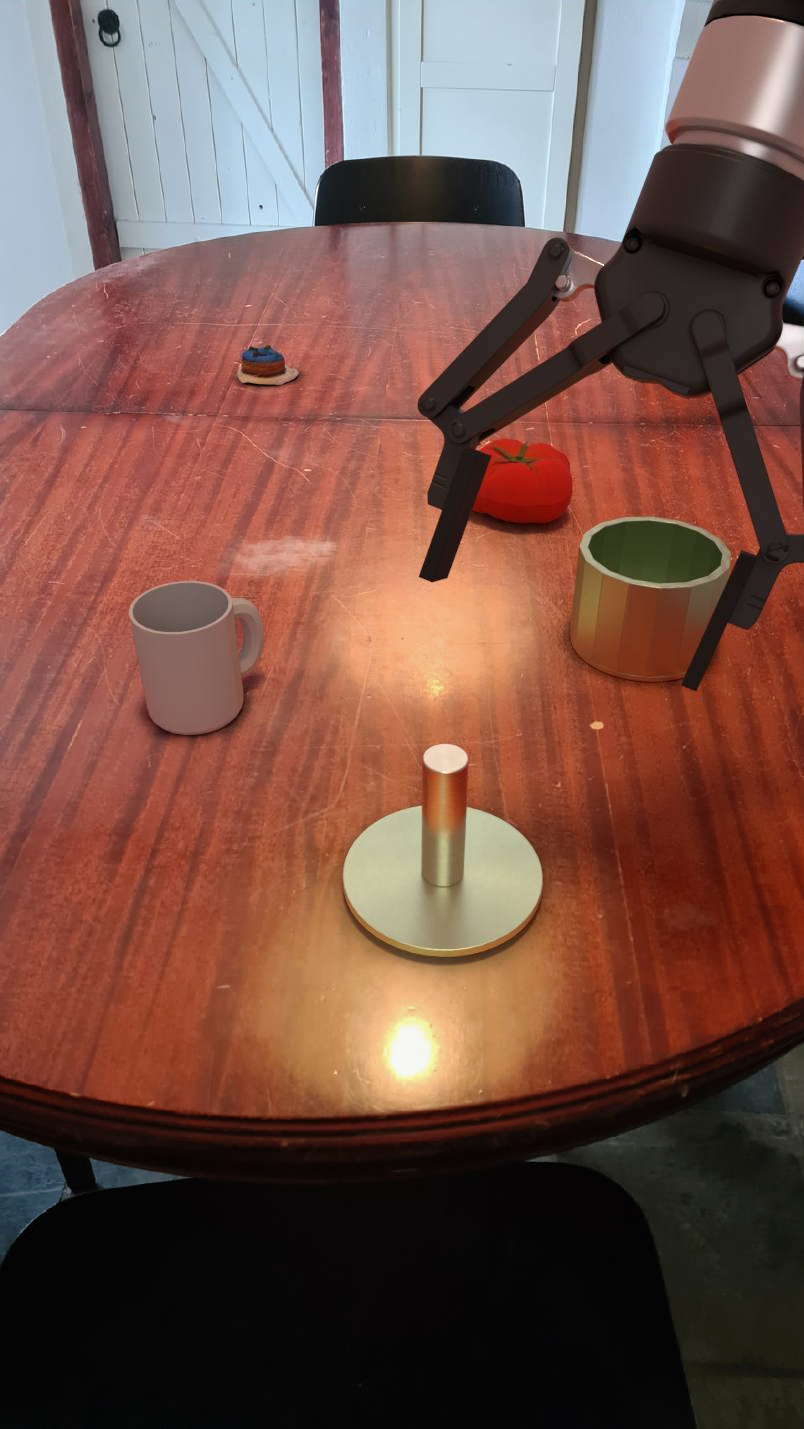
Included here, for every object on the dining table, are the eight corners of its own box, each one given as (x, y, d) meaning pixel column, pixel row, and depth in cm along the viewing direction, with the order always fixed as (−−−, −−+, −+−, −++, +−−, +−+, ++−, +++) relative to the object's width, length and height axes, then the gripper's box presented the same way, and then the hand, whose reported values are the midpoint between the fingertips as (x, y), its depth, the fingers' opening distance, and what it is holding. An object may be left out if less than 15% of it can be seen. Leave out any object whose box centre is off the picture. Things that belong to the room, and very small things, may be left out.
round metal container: (705, 693, 79) (725, 597, 74) (558, 667, 82) (568, 573, 77) (716, 617, 88) (735, 527, 83) (583, 597, 91) (593, 508, 86)
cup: (130, 704, 78) (110, 603, 73) (242, 656, 84) (230, 559, 78) (178, 750, 74) (160, 646, 69) (293, 697, 79) (285, 596, 74)
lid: (517, 986, 57) (529, 856, 51) (313, 934, 60) (301, 806, 54) (559, 839, 67) (574, 714, 60) (380, 801, 70) (377, 678, 63)
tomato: (477, 485, 109) (480, 425, 105) (580, 500, 106) (586, 439, 102) (449, 525, 102) (450, 462, 98) (558, 543, 99) (564, 479, 95)
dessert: (224, 377, 133) (235, 332, 133) (244, 392, 139) (255, 349, 139) (280, 389, 131) (292, 343, 131) (298, 404, 138) (309, 360, 137)
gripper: (1021, 276, 45) (803, 715, 51) (496, 120, 50) (360, 534, 57) (1069, 237, 38) (810, 750, 44) (454, 61, 43) (305, 540, 50)
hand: (557, 629), depth 50 cm, fingers open, 13 cm apart
